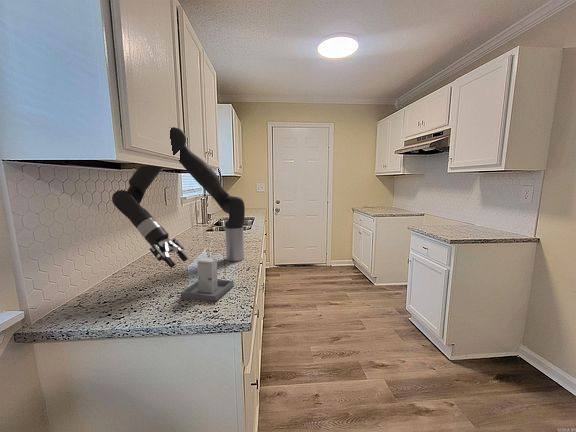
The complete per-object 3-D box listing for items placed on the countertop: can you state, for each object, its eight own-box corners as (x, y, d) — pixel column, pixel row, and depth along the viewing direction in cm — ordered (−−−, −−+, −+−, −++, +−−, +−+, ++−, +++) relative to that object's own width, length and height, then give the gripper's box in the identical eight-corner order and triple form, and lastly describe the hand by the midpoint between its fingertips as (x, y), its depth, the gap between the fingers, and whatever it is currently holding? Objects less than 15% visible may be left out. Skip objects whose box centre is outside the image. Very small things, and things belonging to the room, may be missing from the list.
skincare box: (197, 291, 98) (196, 260, 97) (204, 287, 103) (203, 257, 101) (212, 293, 97) (210, 262, 95) (218, 288, 101) (217, 258, 99)
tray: (202, 283, 108) (202, 277, 107) (233, 286, 104) (233, 280, 104) (180, 298, 94) (180, 292, 94) (215, 302, 91) (215, 296, 91)
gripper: (146, 228, 95) (175, 262, 94) (170, 223, 109) (195, 252, 108) (133, 241, 96) (162, 275, 95) (158, 235, 110) (184, 264, 109)
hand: (180, 263), depth 102 cm, fingers open, 8 cm apart
